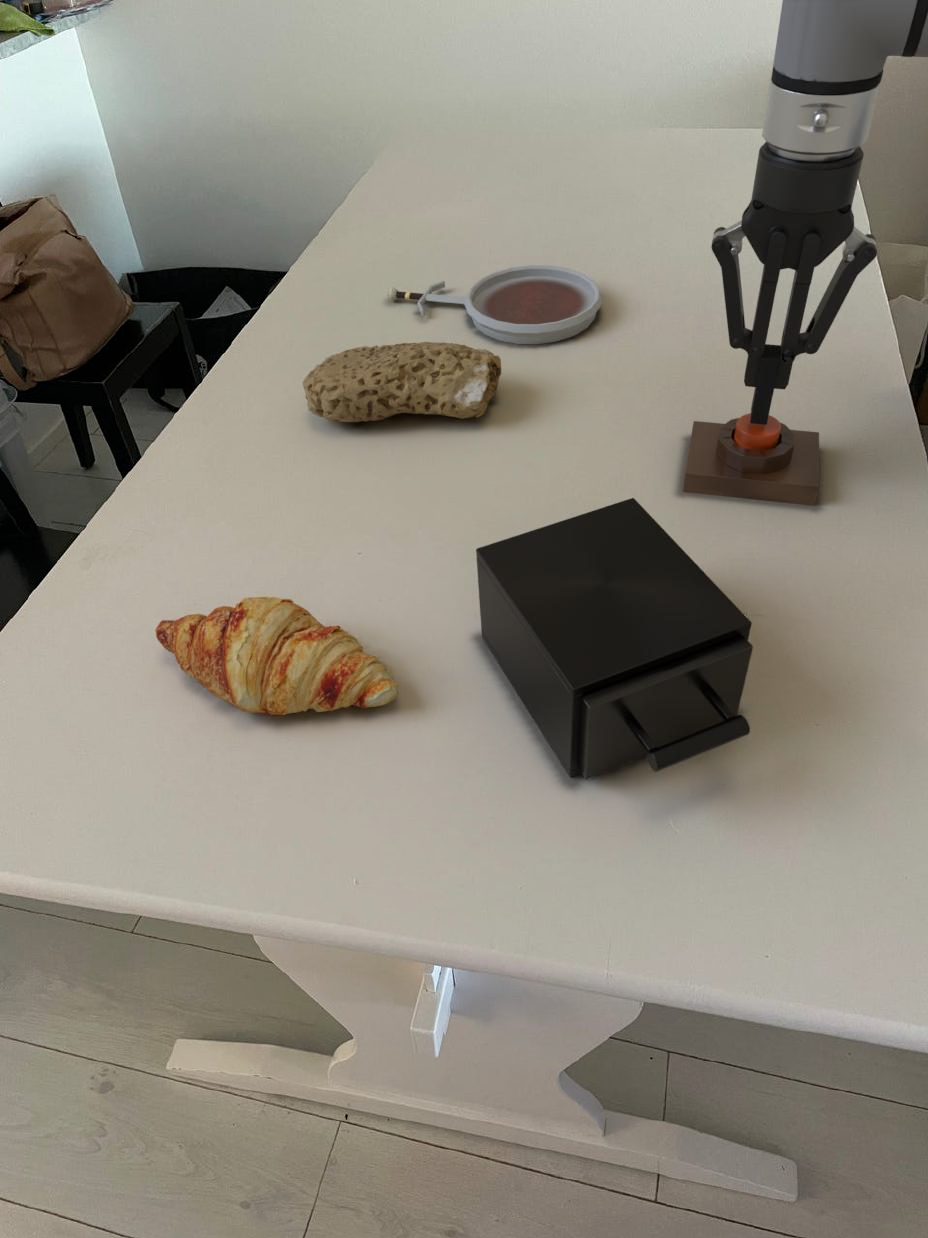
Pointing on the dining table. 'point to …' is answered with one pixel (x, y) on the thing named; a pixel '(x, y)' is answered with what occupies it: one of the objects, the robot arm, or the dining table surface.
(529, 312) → the frying pan
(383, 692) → the croissant
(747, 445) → the button
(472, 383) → the sponge
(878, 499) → the dining table surface
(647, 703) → the open drawer with handle
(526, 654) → the black drawer unit
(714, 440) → the control block
